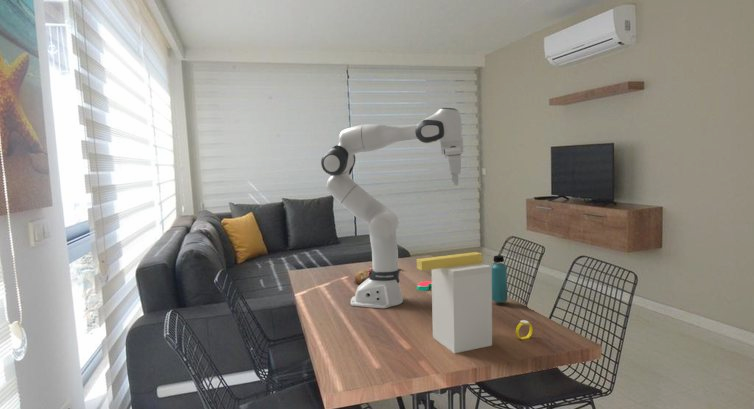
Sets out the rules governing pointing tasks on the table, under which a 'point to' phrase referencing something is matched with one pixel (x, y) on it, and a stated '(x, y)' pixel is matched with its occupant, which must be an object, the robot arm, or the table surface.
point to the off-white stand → (462, 306)
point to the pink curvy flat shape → (424, 285)
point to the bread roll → (361, 277)
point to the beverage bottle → (499, 280)
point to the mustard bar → (449, 261)
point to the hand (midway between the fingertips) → (455, 183)
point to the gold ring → (522, 322)
